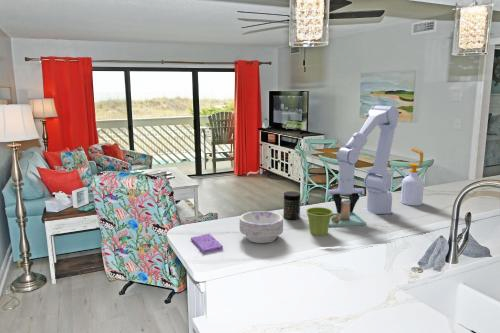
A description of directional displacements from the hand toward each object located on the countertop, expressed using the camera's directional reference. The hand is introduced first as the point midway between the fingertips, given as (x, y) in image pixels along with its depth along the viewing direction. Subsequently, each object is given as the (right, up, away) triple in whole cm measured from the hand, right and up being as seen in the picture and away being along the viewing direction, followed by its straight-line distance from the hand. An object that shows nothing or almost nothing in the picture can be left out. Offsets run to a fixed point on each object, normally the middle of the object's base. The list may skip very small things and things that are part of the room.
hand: (344, 212), depth 152 cm
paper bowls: (-33, -7, -16) cm, 38 cm away
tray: (-2, -4, 0) cm, 4 cm away
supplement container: (-20, -3, +3) cm, 21 cm away
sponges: (-52, -9, -21) cm, 57 cm away
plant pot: (-12, -7, -13) cm, 19 cm away
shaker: (0, -2, +1) cm, 3 cm away
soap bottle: (+36, +1, +23) cm, 42 cm away
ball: (-5, -4, -4) cm, 7 cm away
